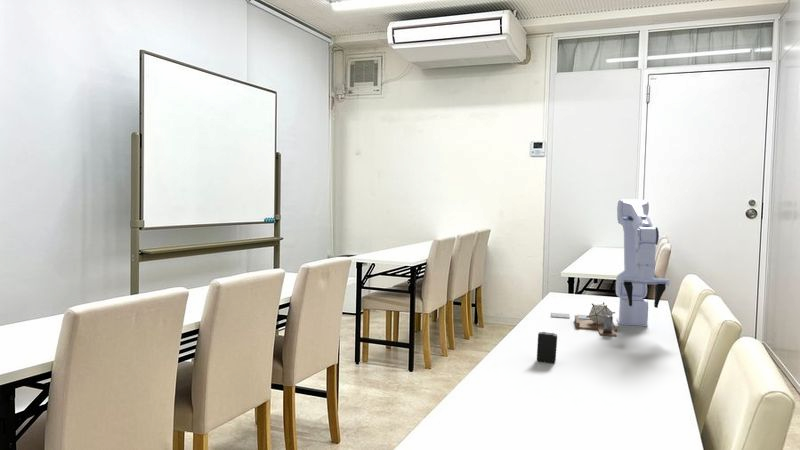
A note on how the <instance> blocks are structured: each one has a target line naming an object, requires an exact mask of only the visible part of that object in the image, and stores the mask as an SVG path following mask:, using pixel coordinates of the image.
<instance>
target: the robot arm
mask: <svg viewBox="0 0 800 450" xmlns="http://www.w3.org/2000/svg"><path fill="white" fill-rule="evenodd" d="M649 205H650V204H649V201H648V200H647V199H622V198H620V199H619V200H618V202H617V206H616V207H617V208H616V213H617V214H616V217H617V223H618V224H619V225H621V227H622V228H623V229H622V230H623V254H624V255H623V258H624V259H623V261H624V262H623V265H624V270H622V271H621V272H620V273H618V274H617V275H616V279H615V295H616V296H617V297H619V307H618V309H619V311H618V312H619V313H618V318H616V321H617V323H618V324H619V325H622V326H623V325H624V326H625V325H626V326H635V327H636V326H637V327H638V326H639V327H648V326H649V324H648V322H649V301H648V299H645V298H646V297H647V294H648V285H654V295H655V296H654V303H653V307H654V308H657V309H658V308H659V307H658V306H659V303H660V300H661V298H662V296H663V294H664V293H665V291H666V288H667V287H670V279H669V278H661V277H655V270H656V269H655V268H656V249H657V246H658V244H659V239H660V232H659V228H658V226H653V223H652V221H651V219H650V217H649V216H648V215H649V210H650V206H649ZM666 286H667V287H666Z"/></svg>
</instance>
